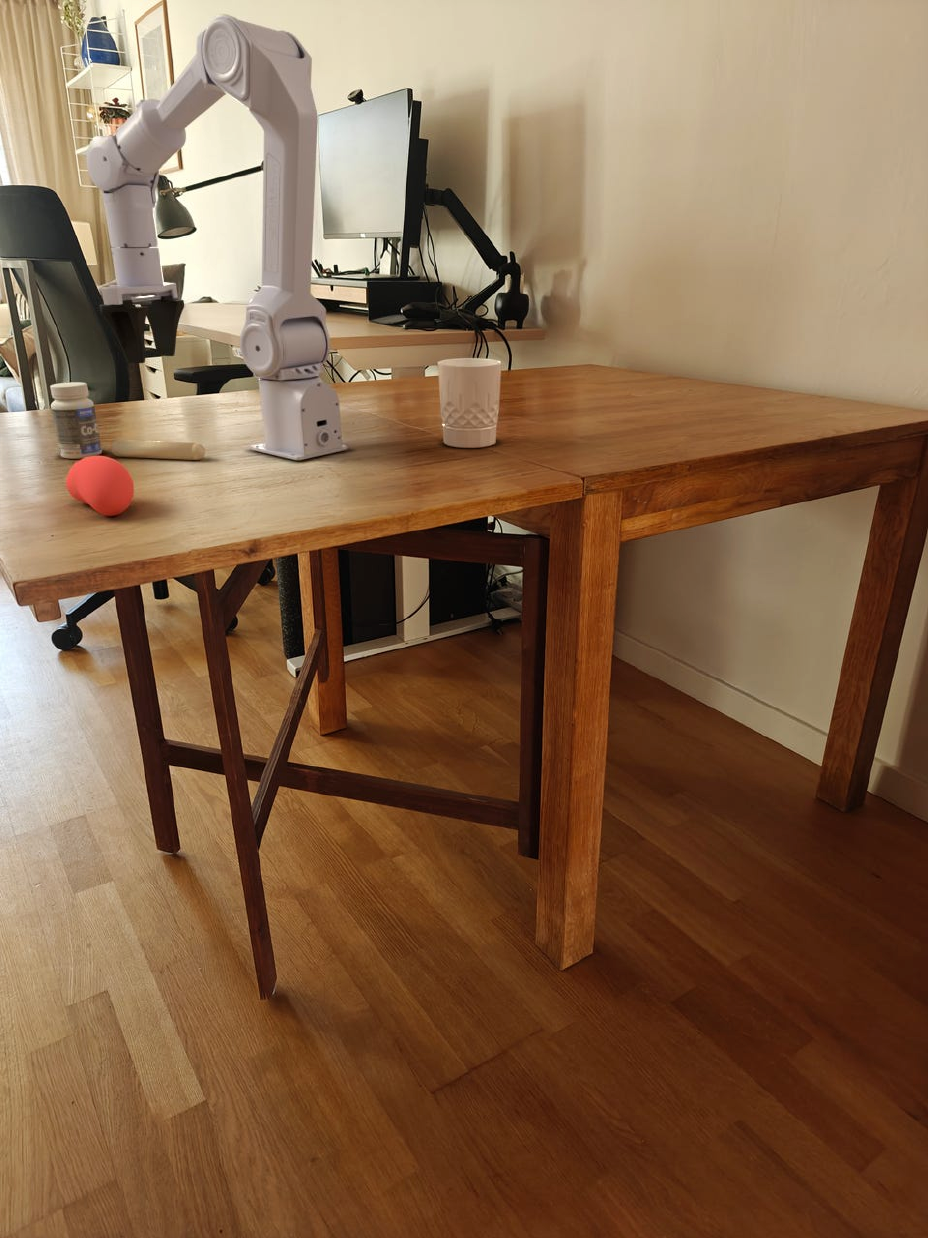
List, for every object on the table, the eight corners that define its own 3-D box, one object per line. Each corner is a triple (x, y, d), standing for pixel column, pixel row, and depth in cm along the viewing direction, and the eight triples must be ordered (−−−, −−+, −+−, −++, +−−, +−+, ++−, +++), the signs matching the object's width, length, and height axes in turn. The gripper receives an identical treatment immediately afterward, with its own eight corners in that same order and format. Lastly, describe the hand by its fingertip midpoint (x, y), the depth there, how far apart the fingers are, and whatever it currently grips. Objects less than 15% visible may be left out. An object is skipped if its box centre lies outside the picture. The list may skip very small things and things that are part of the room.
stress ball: (139, 506, 86) (103, 452, 84) (152, 494, 78) (112, 434, 76) (93, 532, 84) (55, 477, 82) (102, 522, 76) (59, 461, 74)
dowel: (208, 459, 100) (207, 442, 99) (200, 460, 98) (199, 443, 97) (117, 455, 102) (116, 439, 101) (107, 456, 100) (106, 439, 99)
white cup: (506, 438, 109) (507, 358, 105) (492, 451, 102) (493, 366, 98) (449, 434, 111) (448, 357, 107) (431, 447, 104) (429, 364, 100)
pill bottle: (92, 459, 99) (79, 387, 96) (53, 459, 99) (38, 387, 96) (109, 450, 104) (96, 381, 100) (71, 450, 104) (58, 381, 100)
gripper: (137, 247, 113) (153, 352, 119) (71, 248, 100) (92, 365, 106) (185, 247, 112) (198, 353, 117) (125, 247, 99) (143, 366, 104)
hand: (151, 359), depth 111 cm, fingers open, 7 cm apart
